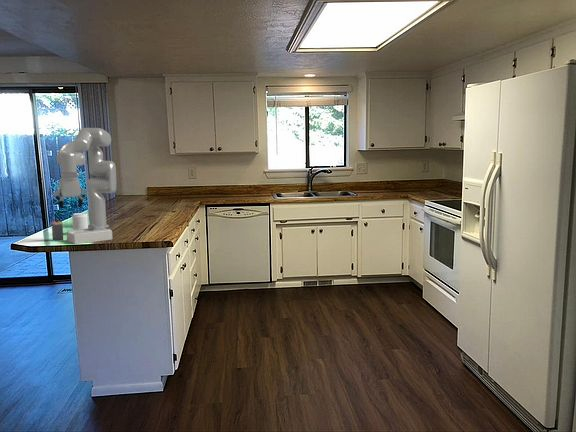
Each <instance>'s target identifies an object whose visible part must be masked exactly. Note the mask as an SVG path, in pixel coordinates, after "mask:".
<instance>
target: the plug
mask: <svg viewBox="0 0 576 432" xmlns="http://www.w3.org/2000/svg"><path fill="white" fill-rule="evenodd" d="M63 225H64V224H63V221H59V218H55V221H51V232H52V235H51V236H52V241H54V240H55V241H54V242H60V241H59V240H62V241H64V229H63V228H64V227H63Z"/></svg>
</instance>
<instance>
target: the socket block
mask: <svg viewBox="0 0 576 432" xmlns="http://www.w3.org/2000/svg"><path fill="white" fill-rule="evenodd" d="M96 228H104V227H96ZM89 229H90V228H87V229H77V230H73V229H69V230H67V231H66V241H67V242H70V243H71V244H74V245H79V244H87V243H94V242H101V241H110V240H111V241H112V240H113V229H112V230H111V228H105V229H103V230H93V231H91V230H89Z"/></svg>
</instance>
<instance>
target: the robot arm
mask: <svg viewBox="0 0 576 432" xmlns="http://www.w3.org/2000/svg"><path fill="white" fill-rule="evenodd" d="M111 143H112V136H111V134H110V133H109V132H108V131H106V130H105V129H103V128H101V127H100V128H99V127H83V128H81V129H80V130H79V131H78V133H77V135H76V136H75V138H74V140H72V141H70V142H68V143H66V144H64V145H62V146H61V147H60V149H59V150H58V151H57V155H56V162H57V164H58V165H59V166H60V173H61V174H60V175H61V178H59V183H58V190H55V191H54V192H52V195H53V197H54V198H55V199H56V200H57V201H58V207H59V208H60V209H64V201H63V200H64V199H65V198H75V197H77V198H78V200H77V204H78V208H82V207H83V205H84V204H83V199H84V198H85V197H86V195H87V194H88V203H89V204H88V206H89V224H88V228H90V224H93V225H96V227H104V228H106V229H108V228H110V225H109V224H107V210H106V208H107V207H106V199H105V197H104V195H103V194H113V193H116V191H117V168H116V167H117V166H116V163H115V162H114V161H113V160H104V153H103V151H102V149H101V148H100V147H109V146H110V145H111ZM85 152H88V155H87V156H88V170H89V171H88V172H89V174H90V175H91V176H96V177H92V178H88V179H87V181H86V188H87V190H84V189H82V188H81V183H80V180H79V176H80V175H81V174H80V173H78V172H77V167H80V166H84V164H85V163H86V160H87V158H86V156H85V154H84V153H85ZM81 192H82V193H81ZM58 195H59V196H58Z"/></svg>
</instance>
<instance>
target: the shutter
mask: <svg viewBox="0 0 576 432" xmlns="http://www.w3.org/2000/svg"><path fill="white" fill-rule="evenodd" d="M89 225H90V229H89V230H91V231H93V230H103V229H105V228H96V225H93V224H90V223H89Z"/></svg>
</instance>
